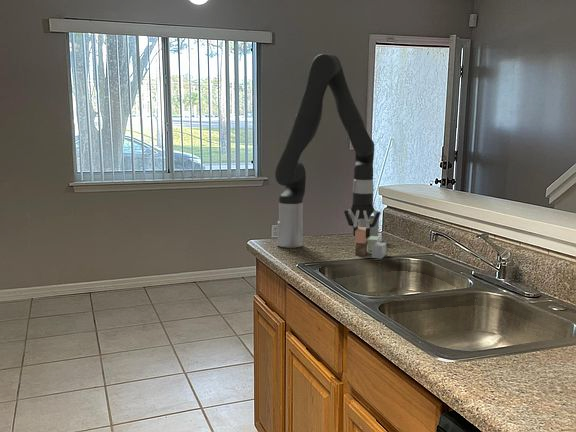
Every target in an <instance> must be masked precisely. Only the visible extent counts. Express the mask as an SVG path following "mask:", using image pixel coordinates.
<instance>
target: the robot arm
mask: <svg viewBox="0 0 576 432" xmlns="http://www.w3.org/2000/svg"><path fill="white" fill-rule="evenodd" d="M308 73H309V74H308V77H307V82H306V86H305V89H304V92H303V95H302V98H301V100H300V103H299V106H298V109H297V112H296V113H295V114H296V115H295V118H294V121H293V124H292V127H291V129H290V133H289V135H288V138H287V141H286V143H285V144H286V145H285V147H284V150H283V152H282V153H281V156H280V158H279V161H278V163H277V166H276V168H275V171H274V176H275V181H276V182H277V183H278V185H281V186H284V190H283V192H282V193H280V195H279V196H278V221H277V223H276V234H277V235H276V246H277V247H281V248H290V249H291V248H302V246H303V200H304V197H305V192H306V180H307V179H306V178H307V176H306V175H307V174H306V168H305V166H304V164H303V163H302V162H301V161H299V159H300V157H301V155H302V154H303V152H304V151H305V149H306V148H307V147H308V146H309V145H310V143H311V142H312V141H313V140H314V138H315V135H316V134H317V131H318V128H319V126H320V123H321V120H322V116H323V105H324V104H323V102H324V96H325V93H326V91H327V88H328V87H329V88H330V90H331V92H332V95H333V98H334V102H335V106H336V112H337V114H338V117H339V118H340V121H341V123H342V125H343V127H344V129H345V131H346V133H347V134H348V135H347V136H348V138H349V141H350V142H351V143H350V144H351V146H352V148H353V150H354V153H355V161H354V162H355V163H354V169H353V183H352V205H351V207H350V208H349V209H348V208H347V209H345V210H344V216H345V218H346V221H347V224H348V226H350V227H352V228H353V233H352V234H353V237H355V231H356V230H357V229H358V222H359V219H365V222H366V227H367V228H366V238H368V237H369V236H370V229H371V227H374V226H375V225H376V223H377V221H378V219H379V220H380V216H381V215H382V213H381V212H382V211H378V210H376V209H375V208H374V191H375V190H374V188H375V187H374V186H375V185H374V159H375V158H374V156H375V143H374V140H373V139H372V138H371V136H370V135H369V133H368V131H367V129H366V127H365V122H364V120H363V117H362V115H361V113H360V112H359V109H358V108H357V105H356V103H355V100H354V99H353V97H352V94H351V91H350V88H349V86H348V82H347V81H346V76H345V74H344V69H343V67H342V63H341V61H340V58H339V57H338V56H336V55H335V54H331V53H321V54H318V55H316V56H315V57H314V59H313V60H312V62H311V65H310V68H309V72H308ZM352 214H353V215H354V221H353V218H352ZM372 214H373V216H375V218H374V220H373V223H372V224H371V223H370V216H372Z"/></svg>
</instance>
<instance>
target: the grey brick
mask: <svg viewBox="0 0 576 432" xmlns="http://www.w3.org/2000/svg"><path fill="white" fill-rule="evenodd" d="M386 255H387V242H381V241H380V242H377V243H375V244H374V245H373V246H372V251H371V258H372V259H373V258H374V259H380V260H381V259H383V258H384V257H385V256H386Z"/></svg>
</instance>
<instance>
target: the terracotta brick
mask: <svg viewBox="0 0 576 432" xmlns="http://www.w3.org/2000/svg"><path fill="white" fill-rule="evenodd" d="M366 228H367V227H359V228H358V229H357V230H356V231H355V236H354V243H355V244H356V243H363V244H364V243H365V242H366V241H367V240H368V238H366Z"/></svg>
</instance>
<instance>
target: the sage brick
mask: <svg viewBox="0 0 576 432" xmlns="http://www.w3.org/2000/svg"><path fill="white" fill-rule="evenodd" d="M377 242H380V243H381V236H379V235H378V236H370V238H369V239H368V243H367V252H368V251H369V252H372V246H373V245H374V244H375V243H377Z"/></svg>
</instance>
